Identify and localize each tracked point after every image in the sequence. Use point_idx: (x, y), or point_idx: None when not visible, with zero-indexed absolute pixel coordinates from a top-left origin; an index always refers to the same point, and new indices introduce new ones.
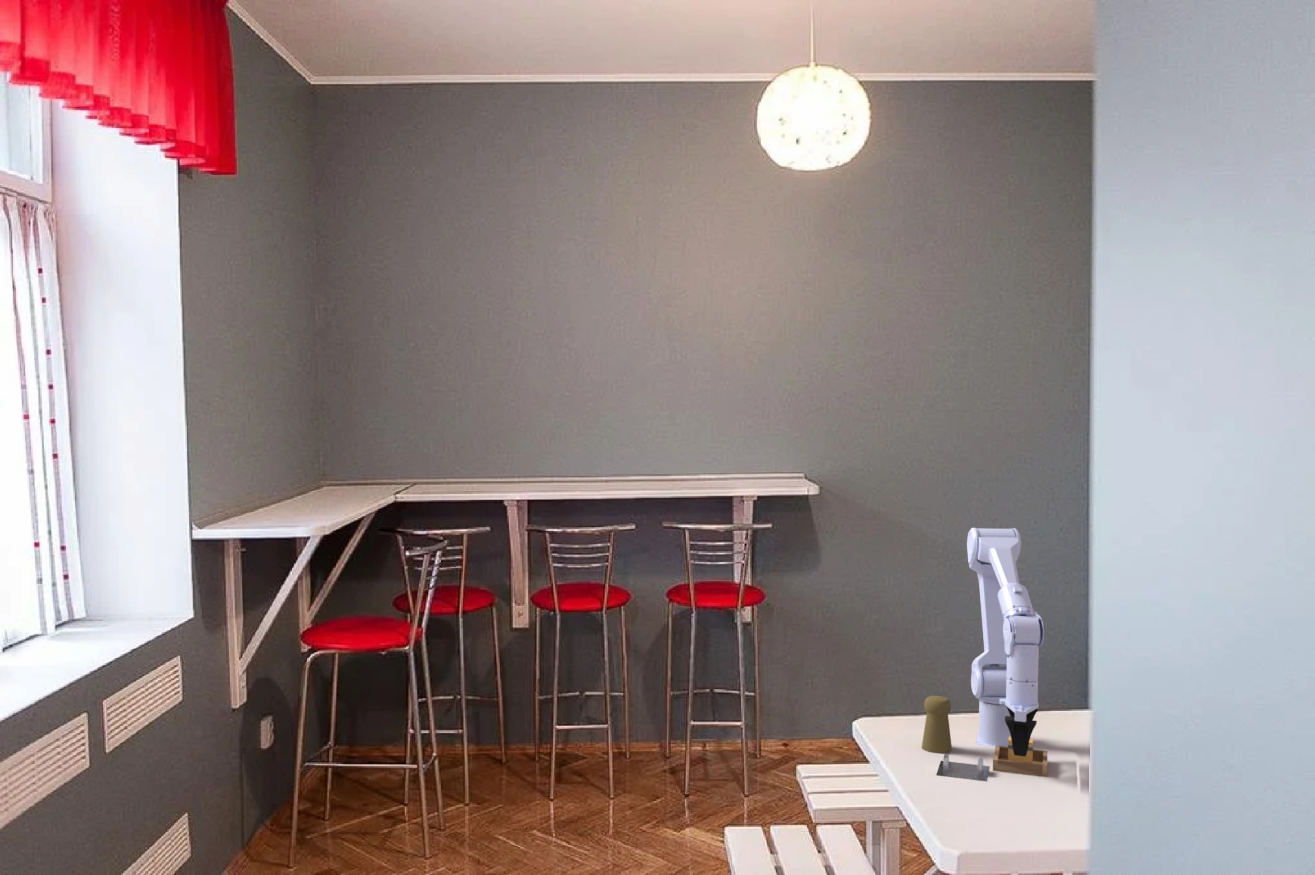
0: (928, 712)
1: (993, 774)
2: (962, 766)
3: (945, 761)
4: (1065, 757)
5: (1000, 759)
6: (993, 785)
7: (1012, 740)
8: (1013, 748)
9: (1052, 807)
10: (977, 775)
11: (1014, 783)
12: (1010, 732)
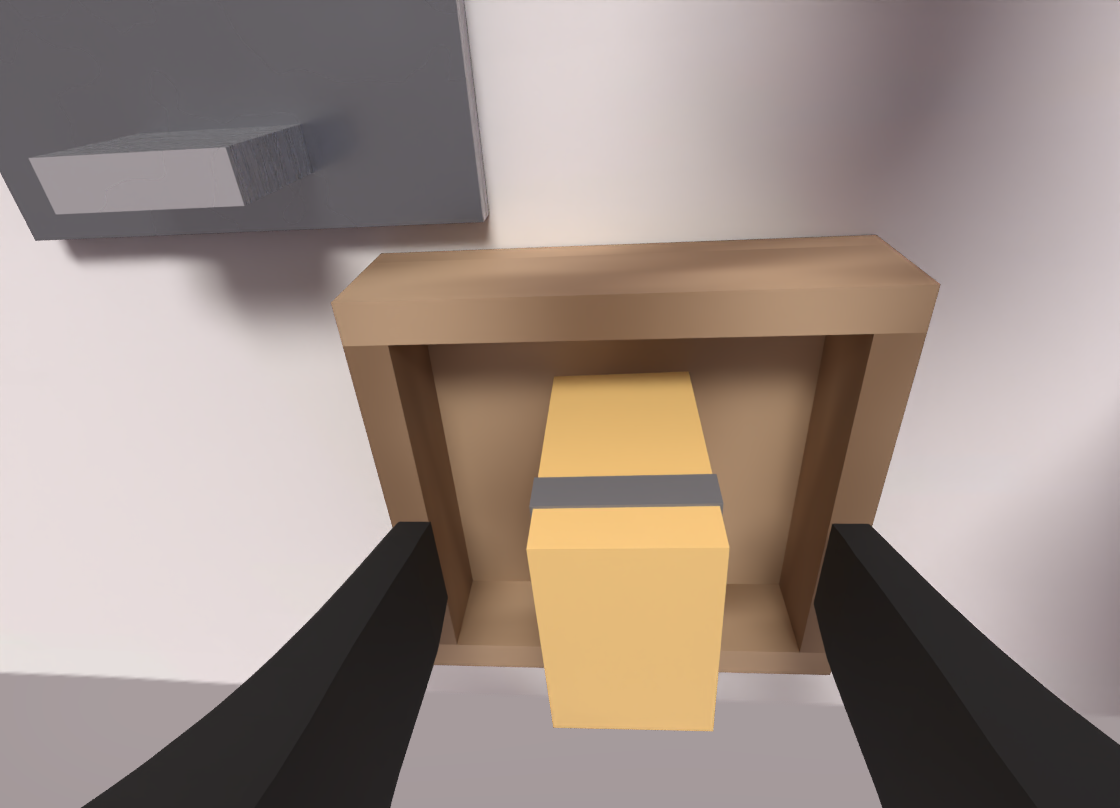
0: None
1: (372, 260)
2: None
3: None
4: None
5: (393, 372)
6: (93, 285)
7: (293, 645)
8: (360, 568)
9: (11, 598)
10: (119, 134)
11: (257, 420)
12: (168, 748)
